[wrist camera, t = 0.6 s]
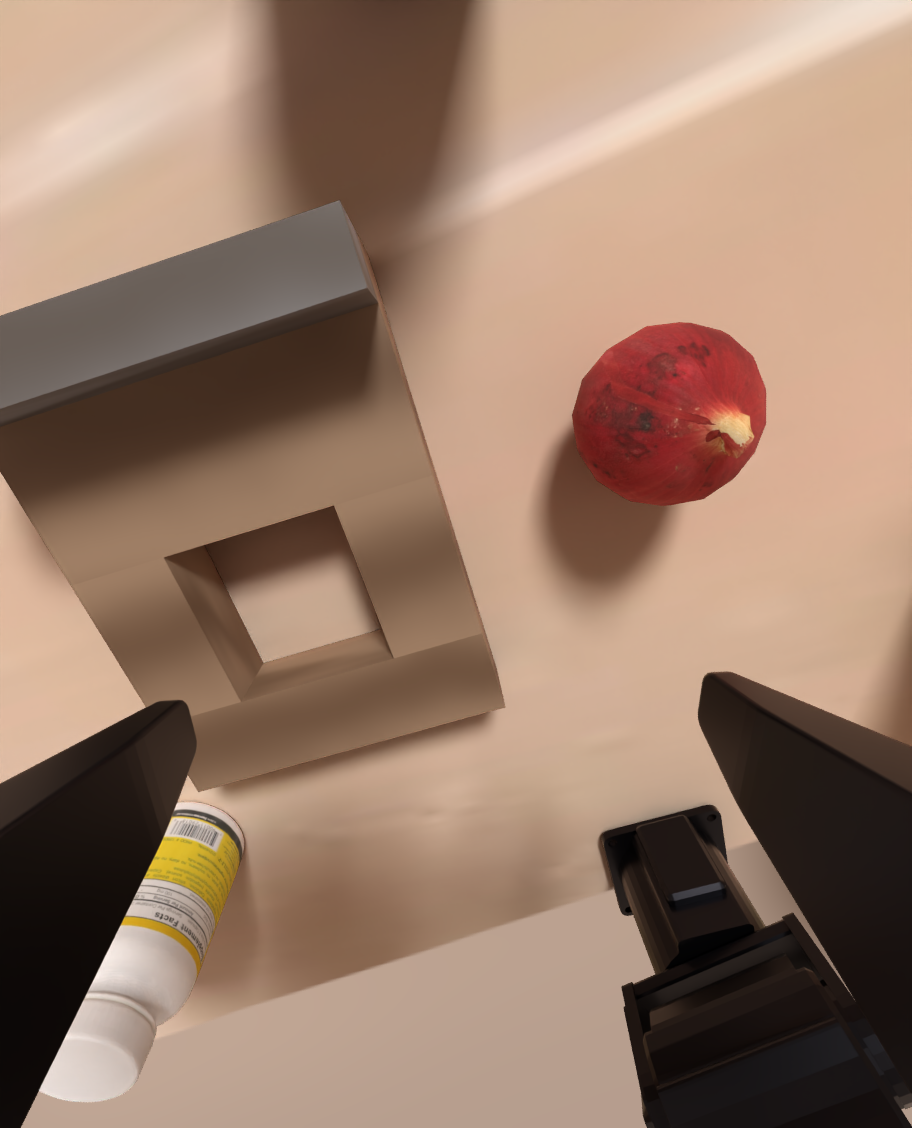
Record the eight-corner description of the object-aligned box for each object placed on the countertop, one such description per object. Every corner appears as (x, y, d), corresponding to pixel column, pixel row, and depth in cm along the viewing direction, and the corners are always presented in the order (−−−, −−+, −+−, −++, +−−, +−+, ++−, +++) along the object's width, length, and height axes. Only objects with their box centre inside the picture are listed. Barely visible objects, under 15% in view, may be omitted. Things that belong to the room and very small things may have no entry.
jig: (496, 669, 24) (516, 757, 19) (224, 745, 25) (165, 851, 20) (367, 254, 18) (339, 200, 13) (11, 372, 19) (-165, 372, 13)
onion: (536, 467, 21) (595, 518, 14) (574, 317, 19) (666, 280, 12) (667, 492, 22) (792, 555, 14) (717, 350, 20) (889, 335, 12)
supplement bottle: (170, 883, 28) (45, 1127, 19) (124, 811, 26) (-39, 1043, 17) (263, 861, 28) (182, 1097, 19) (223, 787, 26) (111, 1010, 17)
